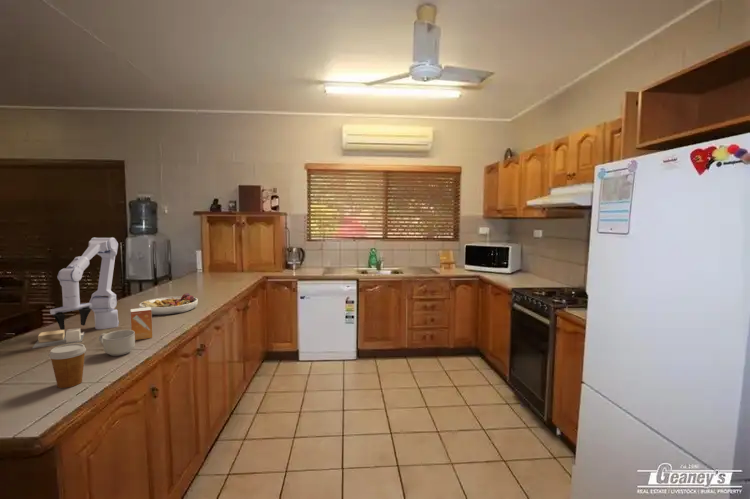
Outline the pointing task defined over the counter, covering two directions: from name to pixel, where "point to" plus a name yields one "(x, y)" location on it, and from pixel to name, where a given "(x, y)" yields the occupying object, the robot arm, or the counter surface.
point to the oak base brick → (51, 336)
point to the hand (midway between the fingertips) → (72, 327)
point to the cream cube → (73, 335)
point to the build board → (56, 342)
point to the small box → (141, 322)
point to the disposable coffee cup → (68, 364)
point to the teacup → (118, 342)
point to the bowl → (170, 304)
